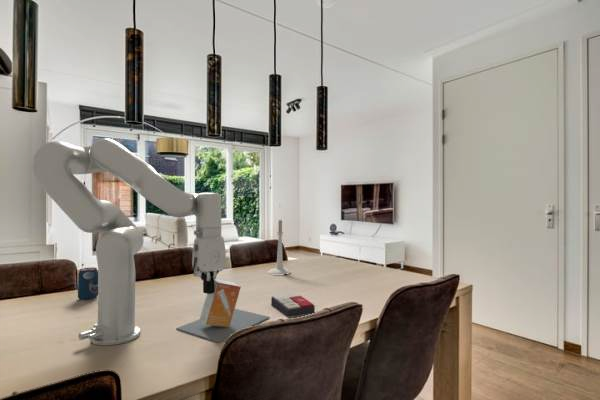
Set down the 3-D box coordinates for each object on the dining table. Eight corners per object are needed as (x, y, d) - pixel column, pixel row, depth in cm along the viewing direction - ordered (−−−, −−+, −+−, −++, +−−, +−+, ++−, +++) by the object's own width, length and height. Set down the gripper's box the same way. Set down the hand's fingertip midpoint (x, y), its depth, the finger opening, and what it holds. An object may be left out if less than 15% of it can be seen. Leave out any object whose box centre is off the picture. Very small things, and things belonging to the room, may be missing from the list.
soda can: (94, 300, 132) (94, 270, 132) (74, 301, 130) (75, 270, 130) (100, 295, 138) (101, 266, 138) (82, 296, 137) (82, 267, 137)
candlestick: (282, 269, 196) (282, 218, 196) (295, 273, 186) (296, 219, 186) (263, 272, 187) (264, 219, 188) (276, 276, 178) (277, 220, 178)
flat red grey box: (287, 308, 116) (271, 294, 129) (287, 320, 116) (270, 305, 129) (315, 303, 121) (296, 291, 134) (314, 315, 121) (296, 301, 135)
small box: (205, 325, 100) (217, 282, 102) (199, 318, 106) (211, 278, 108) (230, 327, 105) (241, 286, 107) (222, 321, 110) (233, 282, 112)
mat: (218, 343, 94) (218, 341, 94) (176, 329, 104) (176, 328, 104) (269, 318, 115) (269, 316, 115) (230, 308, 124) (230, 307, 124)
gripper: (197, 236, 94) (197, 301, 94) (234, 231, 107) (234, 289, 107) (180, 234, 98) (180, 297, 98) (217, 230, 111) (217, 285, 111)
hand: (208, 292), depth 102 cm, fingers closed
